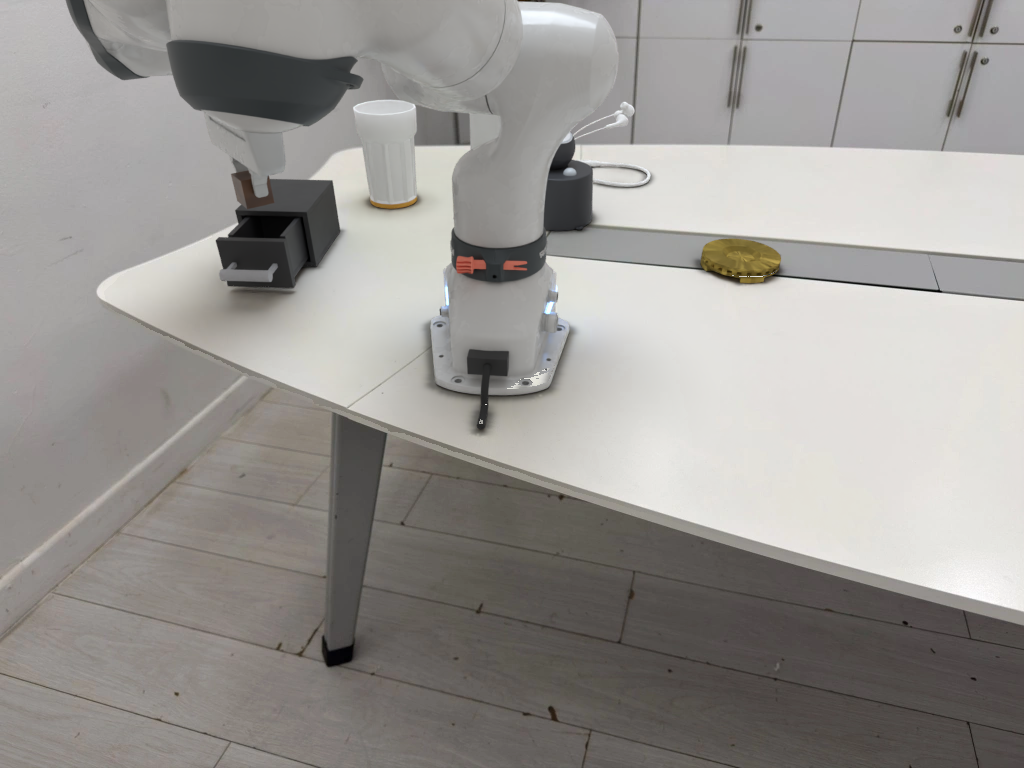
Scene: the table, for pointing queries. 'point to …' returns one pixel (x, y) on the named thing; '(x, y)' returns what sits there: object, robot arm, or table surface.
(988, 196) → the table surface
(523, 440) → the table surface
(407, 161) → the cup
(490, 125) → the milk carton
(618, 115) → the earphone
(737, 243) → the compass
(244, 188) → the block
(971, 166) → the table surface
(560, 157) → the light fixture
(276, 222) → the drawer
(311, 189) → the cabinet
